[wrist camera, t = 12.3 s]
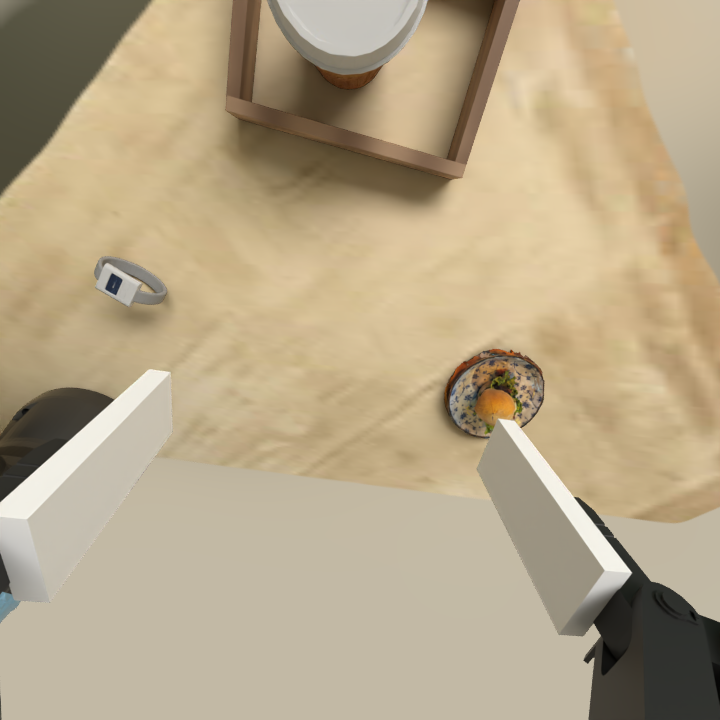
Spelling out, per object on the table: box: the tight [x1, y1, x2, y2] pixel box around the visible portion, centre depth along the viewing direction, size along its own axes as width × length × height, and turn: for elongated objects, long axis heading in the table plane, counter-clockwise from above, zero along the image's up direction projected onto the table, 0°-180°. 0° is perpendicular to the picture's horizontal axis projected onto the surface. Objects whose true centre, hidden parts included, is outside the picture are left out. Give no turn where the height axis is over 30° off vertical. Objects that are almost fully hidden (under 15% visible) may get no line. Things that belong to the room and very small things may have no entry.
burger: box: [444, 349, 544, 438], centre depth 40 cm, size 12×12×8 cm
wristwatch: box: [94, 256, 167, 307], centre depth 34 cm, size 6×3×5 cm, turn 54°
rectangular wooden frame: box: [225, 0, 520, 179], centre depth 28 cm, size 20×15×4 cm
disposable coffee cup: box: [267, 0, 428, 89], centre depth 24 cm, size 10×10×12 cm
